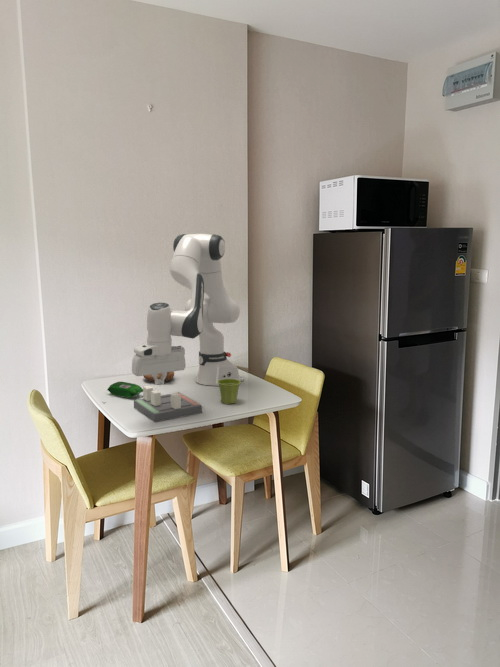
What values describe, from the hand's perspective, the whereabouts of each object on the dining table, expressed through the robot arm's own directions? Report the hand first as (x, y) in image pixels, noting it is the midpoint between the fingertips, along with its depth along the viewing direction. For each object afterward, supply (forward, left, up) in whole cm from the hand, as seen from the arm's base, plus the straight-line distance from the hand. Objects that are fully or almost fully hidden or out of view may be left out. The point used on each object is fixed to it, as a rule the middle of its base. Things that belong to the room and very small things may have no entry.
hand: (159, 384), depth 195 cm
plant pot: (-33, -3, -14) cm, 36 cm away
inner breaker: (-2, -14, -10) cm, 17 cm away
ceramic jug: (-22, -46, -14) cm, 53 cm away
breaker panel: (-7, -7, -13) cm, 17 cm away
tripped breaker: (-7, 0, -10) cm, 12 cm away
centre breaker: (-2, -7, -10) cm, 13 cm away
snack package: (0, -33, -14) cm, 36 cm away
